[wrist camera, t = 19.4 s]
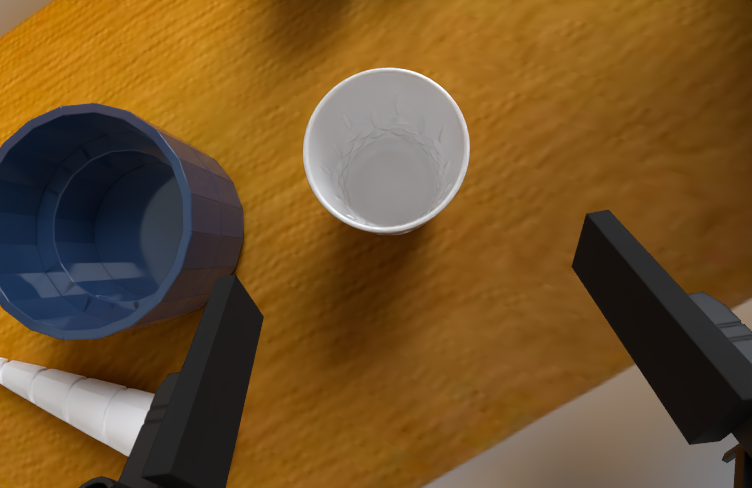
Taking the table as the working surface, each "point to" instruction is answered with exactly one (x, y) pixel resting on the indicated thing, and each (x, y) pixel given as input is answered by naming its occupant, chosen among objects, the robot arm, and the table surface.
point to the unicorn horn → (81, 401)
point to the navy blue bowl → (110, 224)
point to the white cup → (386, 150)
